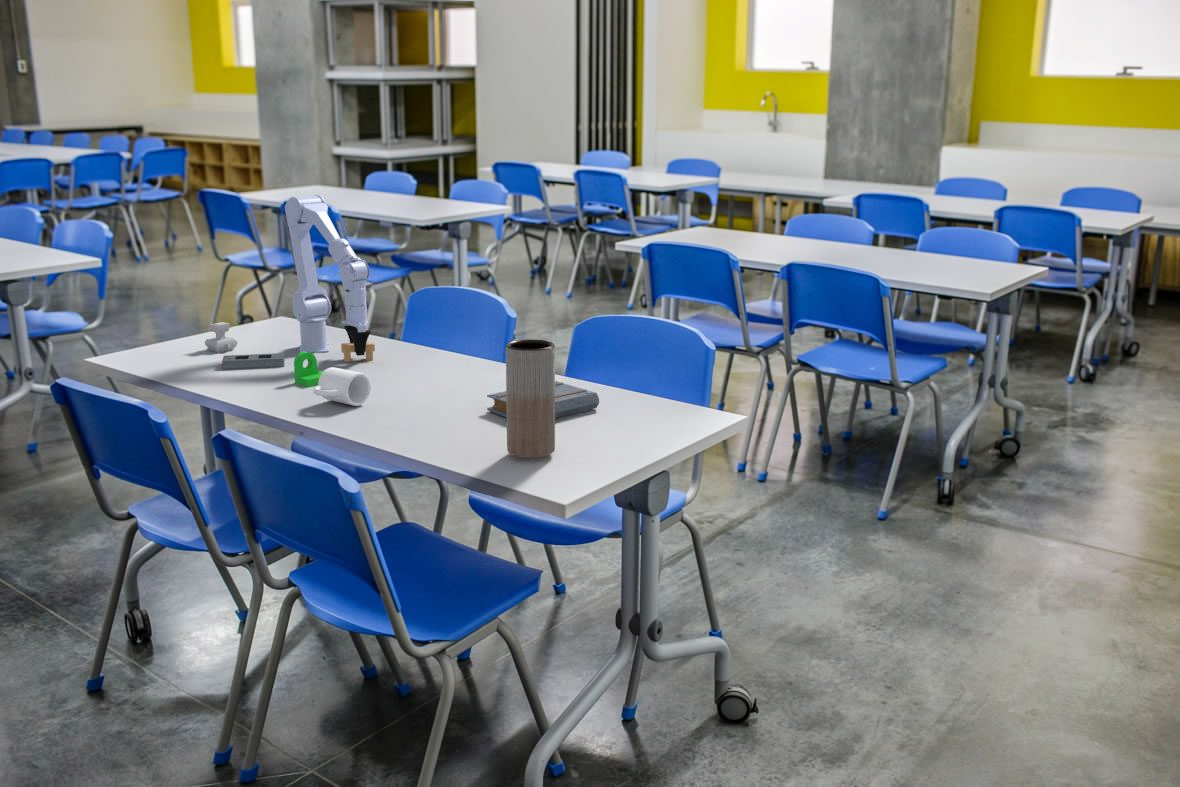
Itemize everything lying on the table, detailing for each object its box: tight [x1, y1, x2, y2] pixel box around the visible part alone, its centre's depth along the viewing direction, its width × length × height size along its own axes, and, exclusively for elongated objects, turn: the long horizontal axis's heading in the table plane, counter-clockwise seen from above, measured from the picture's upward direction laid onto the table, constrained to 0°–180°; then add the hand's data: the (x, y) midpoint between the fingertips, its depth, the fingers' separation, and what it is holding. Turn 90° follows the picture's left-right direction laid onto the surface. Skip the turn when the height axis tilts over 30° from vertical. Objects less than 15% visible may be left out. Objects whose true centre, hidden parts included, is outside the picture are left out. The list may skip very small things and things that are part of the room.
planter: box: [505, 339, 556, 459], centre depth 228 cm, size 10×10×23 cm
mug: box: [312, 366, 372, 407], centre depth 265 cm, size 12×10×8 cm
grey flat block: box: [221, 352, 286, 371], centre depth 303 cm, size 7×16×2 cm, turn 103°
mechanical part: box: [293, 351, 326, 388], centre depth 287 cm, size 12×6×8 cm, turn 136°
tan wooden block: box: [340, 341, 376, 363], centre depth 309 cm, size 3×9×5 cm, turn 103°
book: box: [486, 380, 600, 419], centre depth 262 cm, size 21×16×5 cm
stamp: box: [204, 321, 238, 353], centre depth 318 cm, size 9×7×8 cm
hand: (358, 352), depth 309 cm, fingers open, 5 cm apart
